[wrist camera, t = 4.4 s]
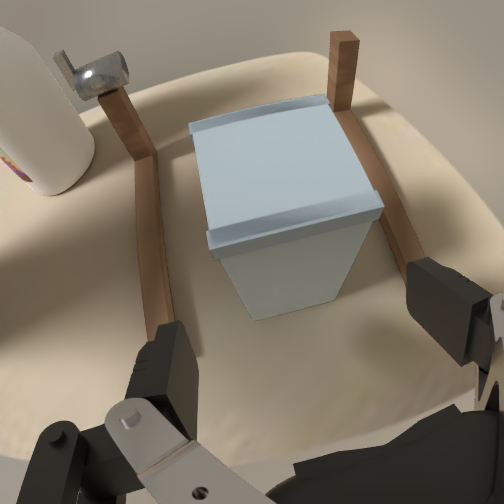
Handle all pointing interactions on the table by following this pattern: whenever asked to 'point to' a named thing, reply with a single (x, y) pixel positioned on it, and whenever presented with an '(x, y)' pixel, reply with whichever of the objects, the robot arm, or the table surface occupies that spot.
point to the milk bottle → (38, 122)
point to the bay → (148, 186)
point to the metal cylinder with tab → (94, 74)
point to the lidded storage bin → (283, 202)
